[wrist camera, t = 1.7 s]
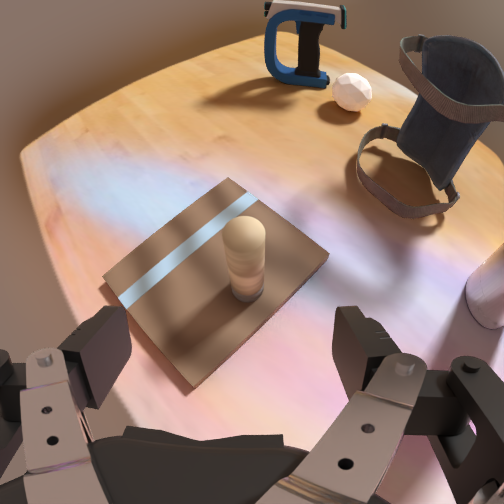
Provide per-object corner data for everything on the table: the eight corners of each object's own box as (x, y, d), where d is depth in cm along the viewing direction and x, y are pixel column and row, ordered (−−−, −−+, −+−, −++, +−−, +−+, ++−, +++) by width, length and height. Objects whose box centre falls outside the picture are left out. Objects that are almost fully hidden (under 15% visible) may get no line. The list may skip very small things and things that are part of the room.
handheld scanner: (337, 91, 59) (349, 10, 43) (263, 83, 61) (263, 1, 44) (336, 81, 62) (346, 5, 45) (265, 74, 63) (265, -3, 47)
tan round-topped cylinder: (247, 267, 37) (243, 209, 28) (270, 287, 36) (274, 232, 27) (225, 287, 36) (213, 233, 27) (247, 308, 35) (243, 260, 25)
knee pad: (474, 197, 45) (540, 85, 23) (406, 243, 40) (491, 93, 19) (408, 131, 53) (444, 18, 31) (330, 158, 49) (357, 11, 27)
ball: (348, 124, 58) (348, 109, 50) (326, 94, 58) (322, 77, 51) (378, 106, 55) (381, 90, 48) (355, 77, 56) (354, 59, 49)
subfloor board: (228, 184, 46) (227, 177, 45) (327, 259, 39) (329, 253, 38) (106, 281, 38) (102, 276, 37) (195, 388, 32) (192, 386, 30)
